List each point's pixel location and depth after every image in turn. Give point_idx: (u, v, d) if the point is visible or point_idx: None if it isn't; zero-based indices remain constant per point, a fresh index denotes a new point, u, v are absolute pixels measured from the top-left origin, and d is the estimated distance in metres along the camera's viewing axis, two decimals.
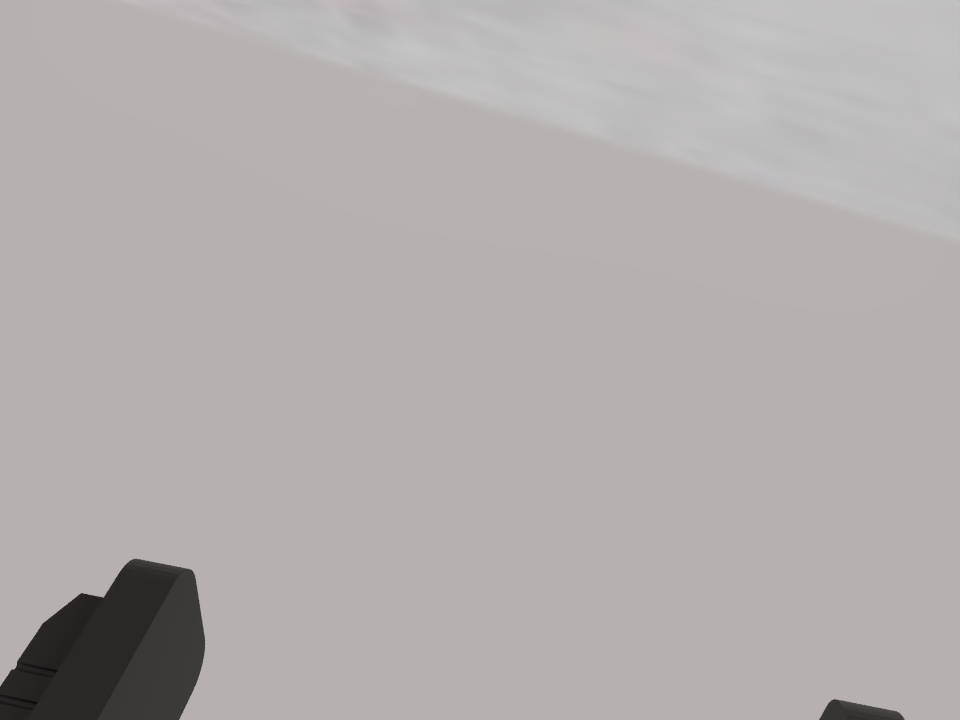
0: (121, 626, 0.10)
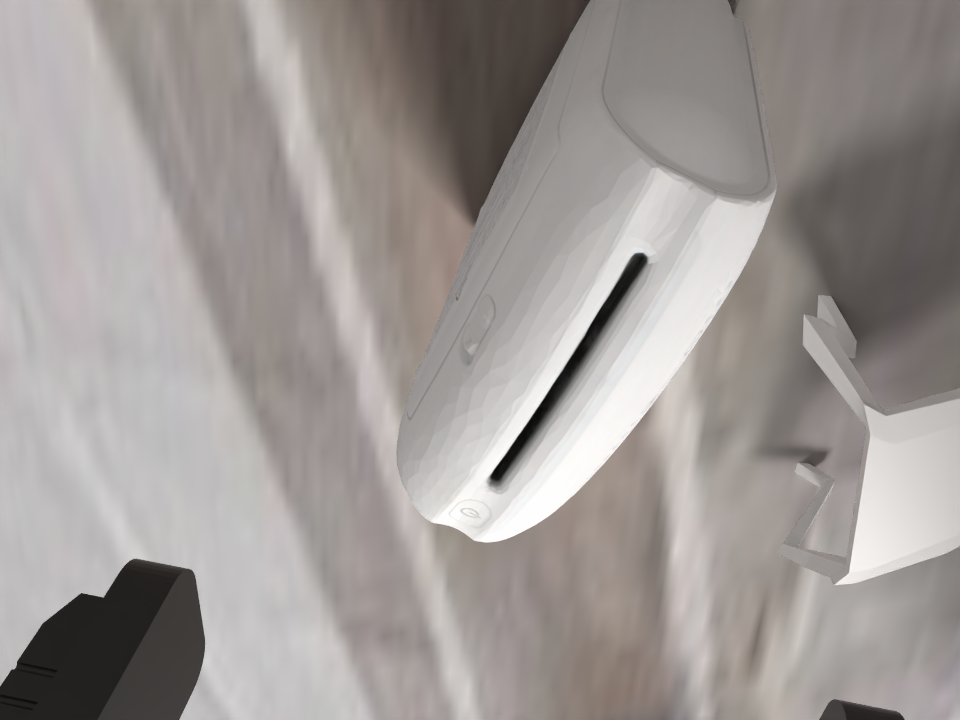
0: (121, 626, 0.10)
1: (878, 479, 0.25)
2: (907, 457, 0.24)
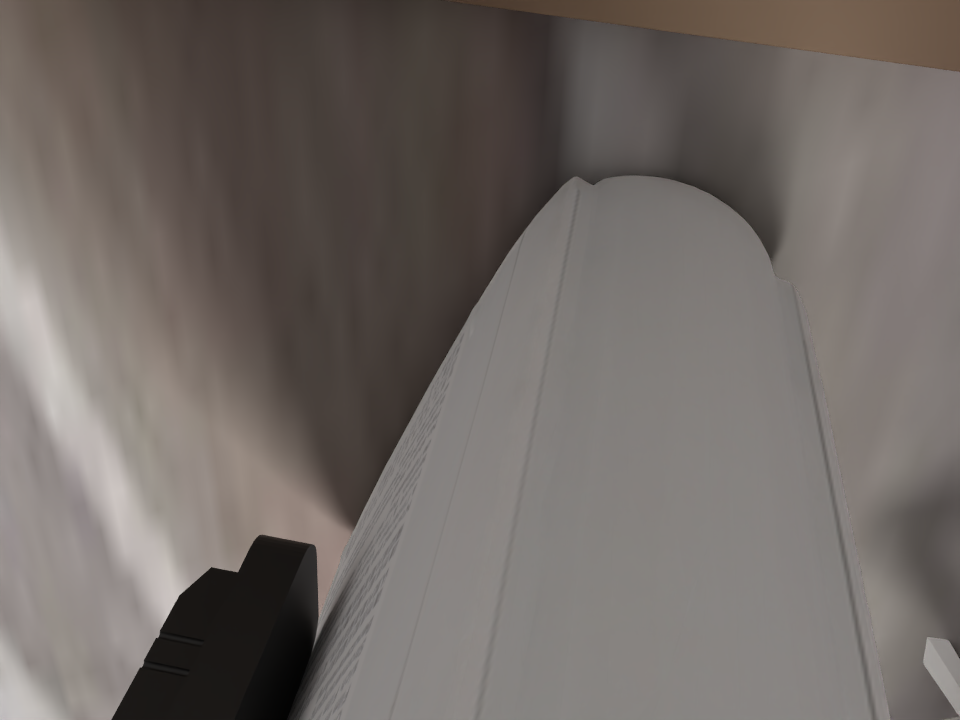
0: (259, 597, 0.11)
1: None
2: None
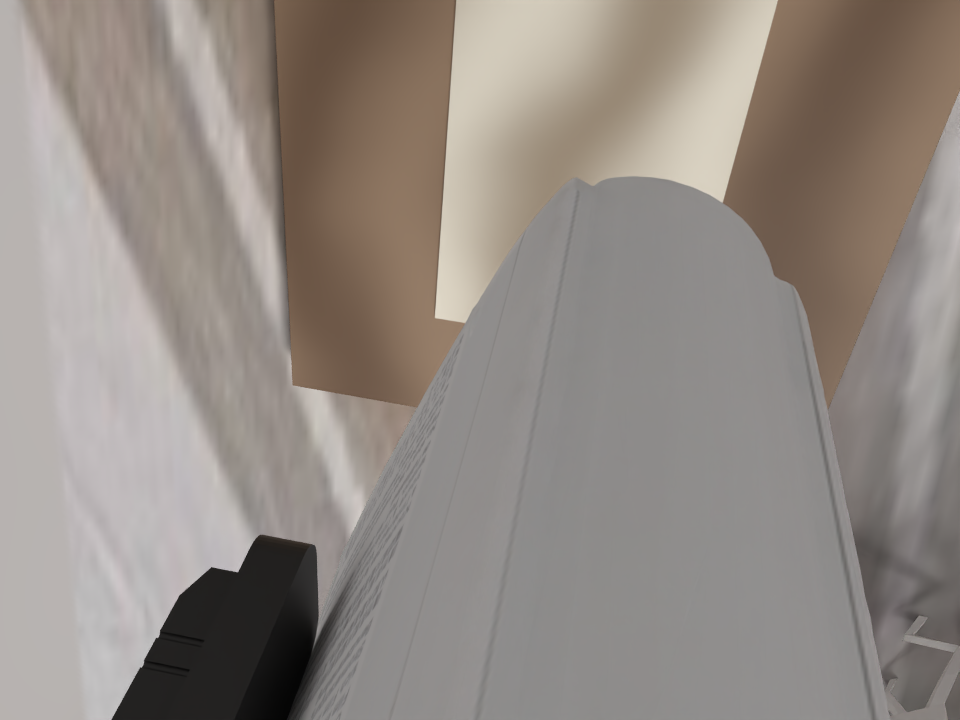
0: (259, 597, 0.11)
1: None
2: None
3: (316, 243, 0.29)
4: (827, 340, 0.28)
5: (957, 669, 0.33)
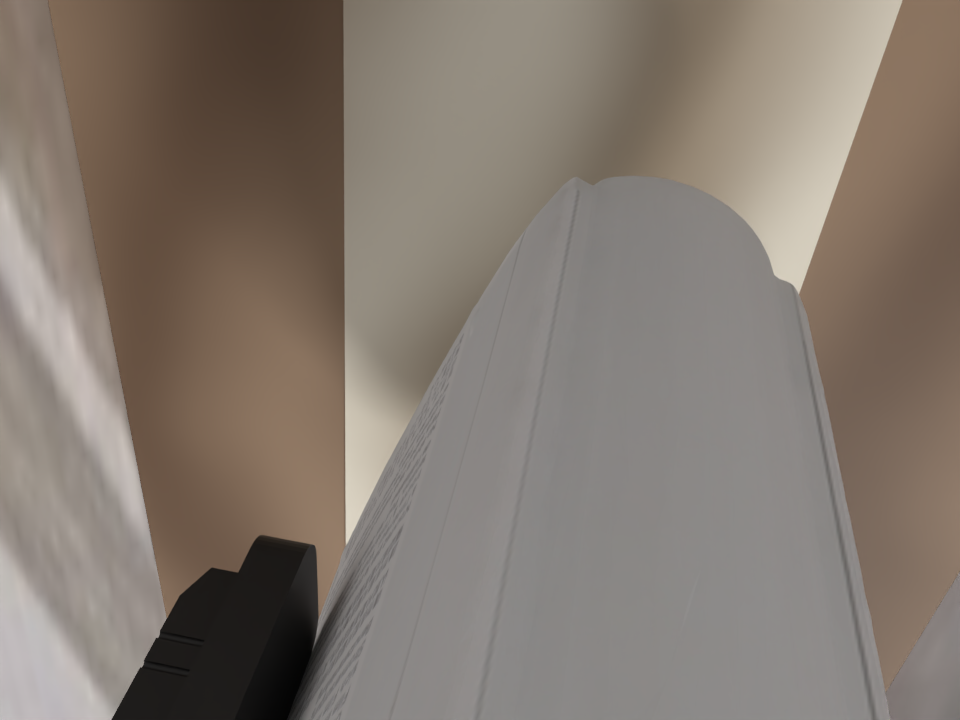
0: (259, 597, 0.11)
1: None
2: None
3: (177, 462, 0.21)
4: (892, 611, 0.20)
5: None
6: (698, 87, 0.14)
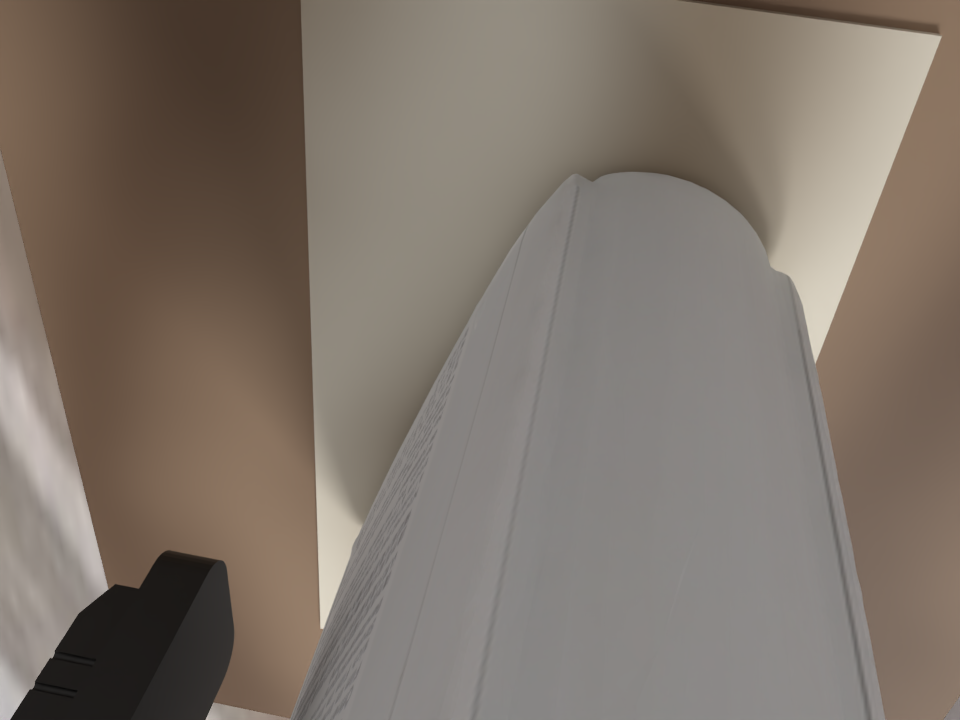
0: (157, 615, 0.10)
1: None
2: None
3: (136, 529, 0.19)
4: (912, 695, 0.18)
5: None
6: (702, 144, 0.12)
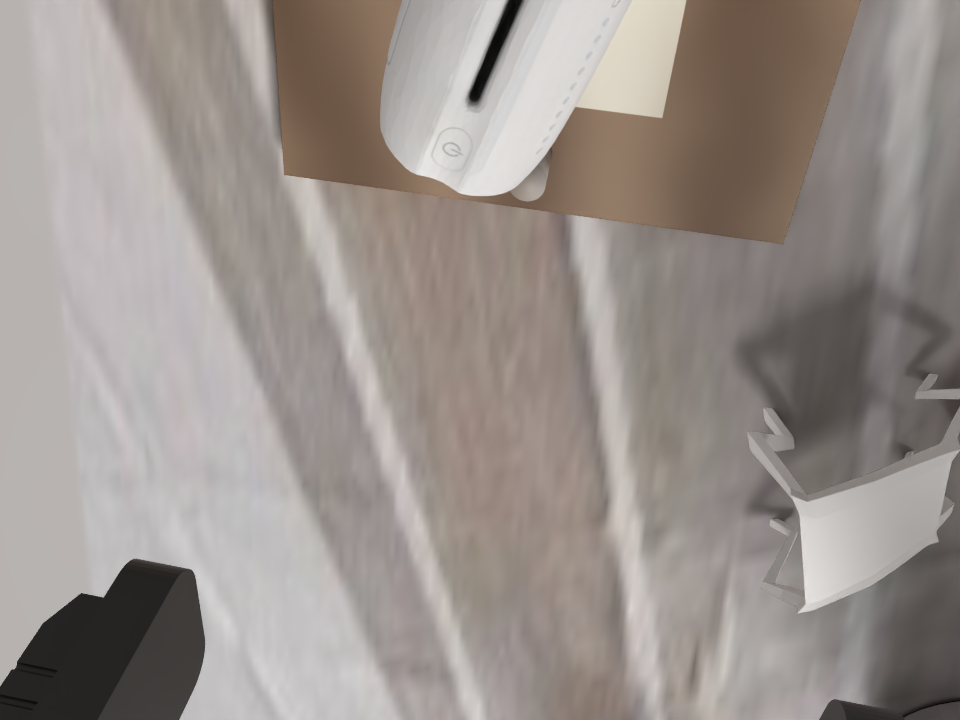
0: (121, 626, 0.10)
1: (811, 542, 0.35)
2: (828, 527, 0.34)
3: (303, 10, 0.29)
4: (805, 87, 0.29)
5: None
6: None
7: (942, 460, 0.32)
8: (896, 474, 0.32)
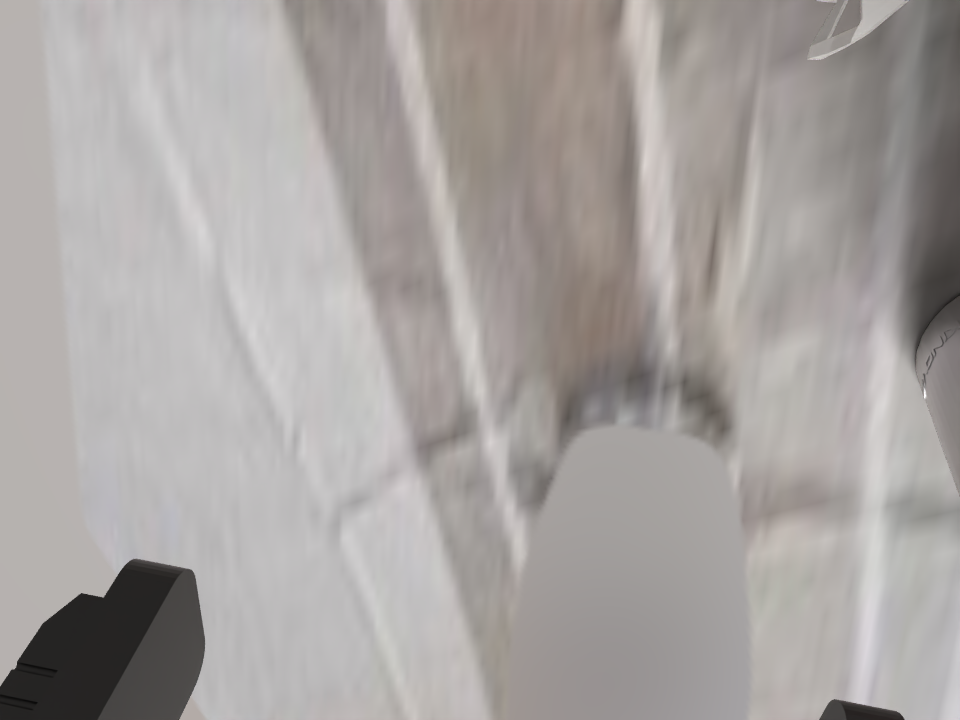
0: (121, 626, 0.10)
1: None
2: None
3: None
4: None
5: None
6: None
7: None
8: None
